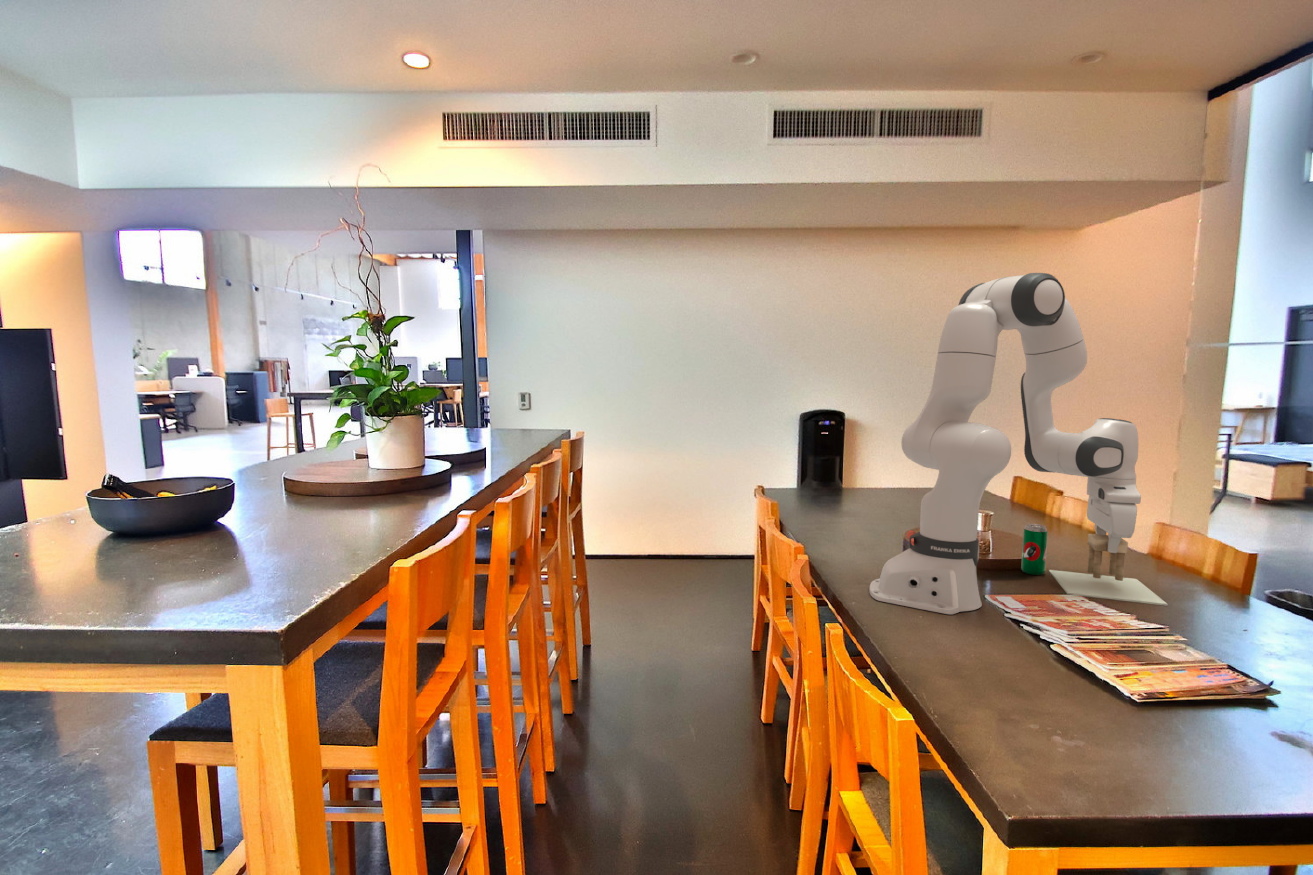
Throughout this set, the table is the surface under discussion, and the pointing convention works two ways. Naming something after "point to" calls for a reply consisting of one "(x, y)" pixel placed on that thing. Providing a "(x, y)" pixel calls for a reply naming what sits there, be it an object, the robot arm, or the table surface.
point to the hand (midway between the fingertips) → (1106, 547)
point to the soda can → (1034, 549)
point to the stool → (1095, 556)
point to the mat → (1106, 587)
